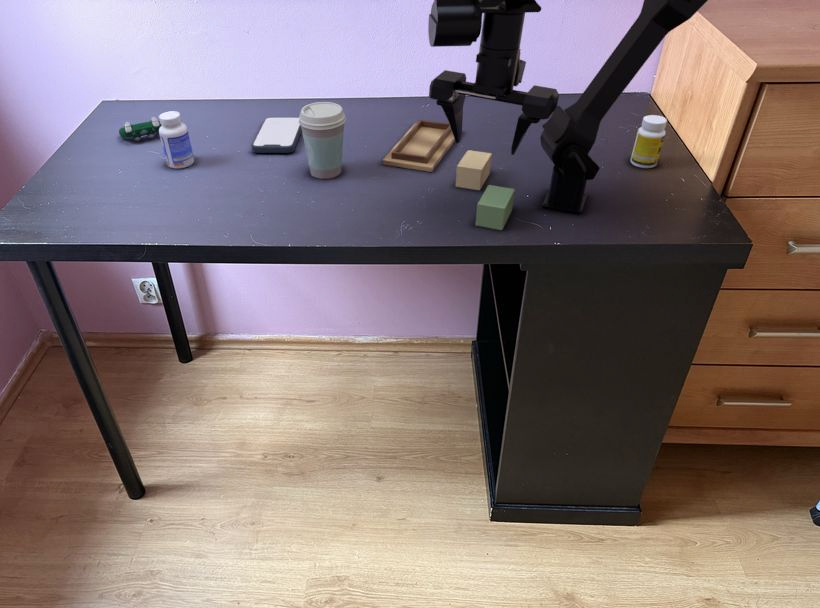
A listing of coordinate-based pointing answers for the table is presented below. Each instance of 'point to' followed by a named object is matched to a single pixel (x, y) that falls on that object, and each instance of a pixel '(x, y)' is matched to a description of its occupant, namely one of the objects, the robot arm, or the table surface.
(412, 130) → the wooden tray
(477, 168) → the beige rectangular block
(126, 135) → the green toy car
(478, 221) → the green rectangular block
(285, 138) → the phone case
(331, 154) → the coffee cup
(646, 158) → the supplement bottle
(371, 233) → the table surface
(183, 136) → the pill bottle
